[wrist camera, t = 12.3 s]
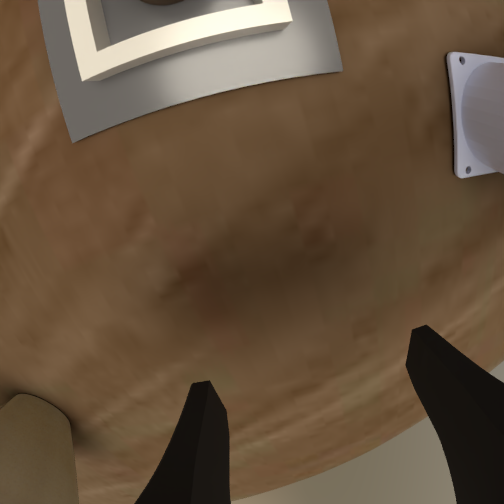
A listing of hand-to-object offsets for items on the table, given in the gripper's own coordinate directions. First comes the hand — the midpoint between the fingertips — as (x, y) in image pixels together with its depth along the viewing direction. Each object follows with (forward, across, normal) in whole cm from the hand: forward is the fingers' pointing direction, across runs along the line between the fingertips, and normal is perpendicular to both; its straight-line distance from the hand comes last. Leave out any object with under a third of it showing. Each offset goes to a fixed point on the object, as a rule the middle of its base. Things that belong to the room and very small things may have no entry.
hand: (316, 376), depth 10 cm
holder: (+9, +2, -16) cm, 19 cm away
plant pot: (+10, +29, +14) cm, 34 cm away
